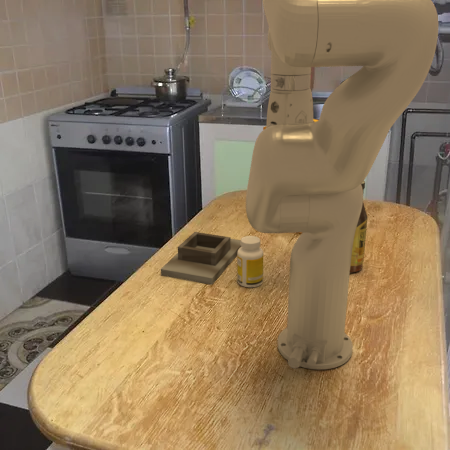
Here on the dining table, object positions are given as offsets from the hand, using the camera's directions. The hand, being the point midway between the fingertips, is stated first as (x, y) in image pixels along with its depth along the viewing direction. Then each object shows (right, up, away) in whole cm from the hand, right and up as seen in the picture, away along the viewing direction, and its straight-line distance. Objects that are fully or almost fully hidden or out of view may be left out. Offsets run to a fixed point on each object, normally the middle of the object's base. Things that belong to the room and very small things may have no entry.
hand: (287, 169), depth 111 cm
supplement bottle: (-7, -23, +4) cm, 25 cm away
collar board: (-17, -19, +14) cm, 29 cm away
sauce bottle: (+15, -21, +10) cm, 27 cm away
